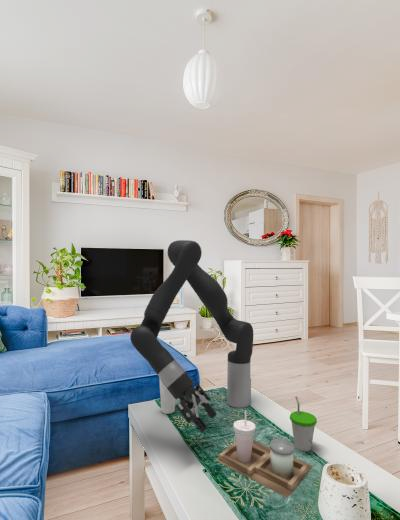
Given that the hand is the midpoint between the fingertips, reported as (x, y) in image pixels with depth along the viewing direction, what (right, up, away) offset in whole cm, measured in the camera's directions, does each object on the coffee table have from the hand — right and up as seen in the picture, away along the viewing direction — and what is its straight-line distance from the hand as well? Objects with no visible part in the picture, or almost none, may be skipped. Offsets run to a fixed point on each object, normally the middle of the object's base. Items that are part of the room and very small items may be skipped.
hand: (210, 422), depth 97 cm
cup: (+28, -10, +3) cm, 30 cm away
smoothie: (+10, -9, -4) cm, 13 cm away
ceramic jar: (+19, -9, -9) cm, 23 cm away
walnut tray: (+15, -10, -5) cm, 19 cm away
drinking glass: (-15, -9, +27) cm, 32 cm away
